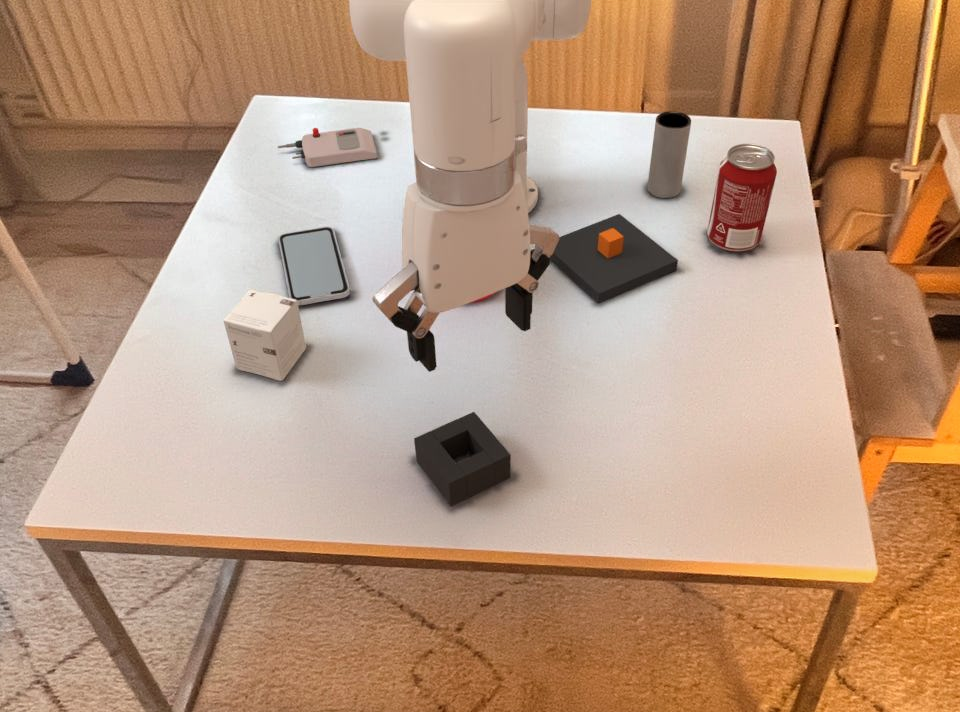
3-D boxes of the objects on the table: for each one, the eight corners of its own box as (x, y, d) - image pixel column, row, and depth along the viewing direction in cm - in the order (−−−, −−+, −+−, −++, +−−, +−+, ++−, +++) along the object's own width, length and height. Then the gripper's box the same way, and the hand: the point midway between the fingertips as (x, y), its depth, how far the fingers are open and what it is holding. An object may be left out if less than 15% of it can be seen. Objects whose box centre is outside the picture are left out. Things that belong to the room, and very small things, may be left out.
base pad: (542, 253, 118) (543, 226, 115) (618, 223, 122) (621, 196, 119) (598, 303, 111) (600, 276, 108) (676, 270, 115) (681, 243, 112)
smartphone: (333, 225, 122) (351, 292, 112) (334, 231, 123) (352, 298, 112) (276, 234, 121) (290, 302, 111) (278, 240, 121) (291, 309, 111)
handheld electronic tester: (390, 157, 134) (388, 138, 132) (281, 172, 132) (278, 153, 130) (383, 134, 139) (381, 115, 137) (278, 148, 137) (274, 129, 135)
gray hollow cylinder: (687, 191, 127) (698, 121, 119) (662, 202, 125) (672, 132, 117) (665, 176, 129) (674, 107, 121) (640, 187, 127) (648, 117, 120)
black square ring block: (416, 461, 95) (413, 438, 92) (475, 434, 97) (474, 411, 94) (450, 506, 91) (448, 483, 88) (510, 477, 93) (510, 454, 90)
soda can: (759, 258, 116) (780, 173, 107) (705, 252, 117) (721, 168, 108) (759, 227, 121) (779, 143, 112) (707, 222, 122) (722, 138, 113)
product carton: (235, 370, 105) (220, 320, 99) (262, 336, 108) (249, 286, 103) (283, 382, 103) (270, 332, 98) (308, 348, 107) (297, 297, 101)
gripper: (533, 116, 75) (529, 287, 87) (339, 180, 69) (365, 353, 81) (588, 156, 70) (576, 330, 83) (386, 228, 64) (406, 403, 77)
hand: (472, 341), depth 82 cm, fingers open, 9 cm apart
